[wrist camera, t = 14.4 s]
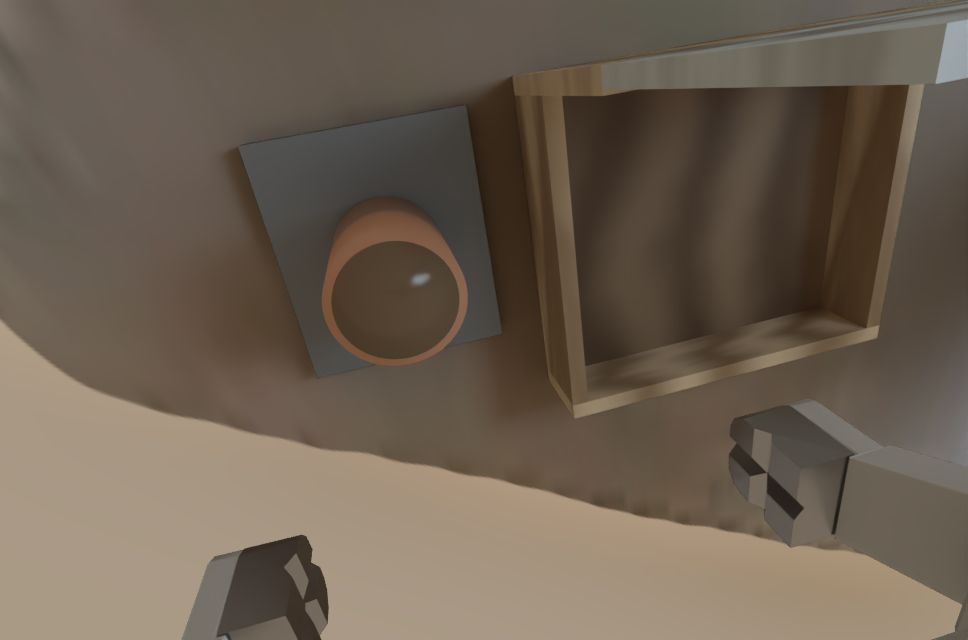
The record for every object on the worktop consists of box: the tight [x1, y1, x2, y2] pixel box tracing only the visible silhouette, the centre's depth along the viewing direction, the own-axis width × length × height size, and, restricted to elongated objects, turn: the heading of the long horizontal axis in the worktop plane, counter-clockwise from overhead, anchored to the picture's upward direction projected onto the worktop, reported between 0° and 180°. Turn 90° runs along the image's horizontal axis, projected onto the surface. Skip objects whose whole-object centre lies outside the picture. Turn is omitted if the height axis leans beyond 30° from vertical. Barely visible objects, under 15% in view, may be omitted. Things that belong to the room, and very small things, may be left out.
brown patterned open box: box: [512, 0, 968, 419], centre depth 24 cm, size 22×20×24 cm
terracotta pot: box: [322, 196, 468, 366], centre depth 27 cm, size 6×6×8 cm
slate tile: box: [238, 105, 502, 378], centre depth 31 cm, size 12×14×1 cm
